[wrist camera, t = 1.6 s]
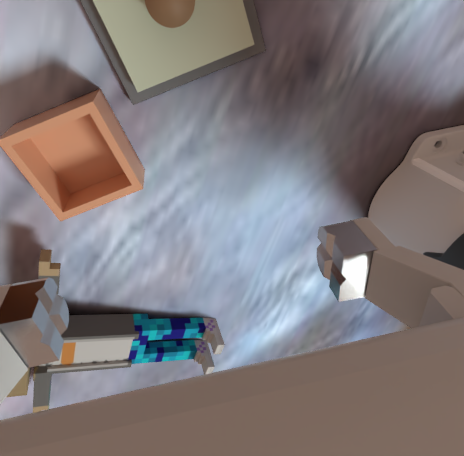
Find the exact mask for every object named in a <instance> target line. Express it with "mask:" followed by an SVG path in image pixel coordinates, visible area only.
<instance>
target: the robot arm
mask: <svg viewBox="0 0 464 456" xmlns="http://www.w3.org/2000/svg"><path fill="white" fill-rule="evenodd" d="M437 141H438V142H437ZM436 142H437V144H436V145H435V143H436ZM318 239H319V240H320V242H321V244H320V245H319V246H318V248H317V261H318V266H319V268H320V271H321V273H322V275H323V276H324V277H325V278H327V279H329V280H330V285H329V287H330V288H331V290H332V292H333V293H334V295H335V297H336V298H337V300H338V302H340V301H345V300H351V299H356V298H362V297H365V298H366V299H367V300H369V301H370V302H372V303H373V304H375V305H376V306H378V307H379V308H381V309H383V310H384V311H386V312H387V313H389V314H390V315H392V316H393V317H395V318H396V319H398V320H400V321H401V322H403V323H404V324H406V325H407V326H409V327H410V328H412V329H407V330H403V331H398V332H394V333H389V334H385V335H380V336H376V337H371V338H367V339H362V340H358V341H354V342H349V343H345V344H340V345H336V346H331V347H327V348H322V349H318V350H313V351H309V352H304V353H300V354H295V355H291V356H286V357H282V358H277V359H273V360H268V361H264V362H259V363H255V364H250V365H246V366H241V367H237V368H232V369H228V370H223V371H219V372H214V373H210V374H205V375H201V376H196V377H192V378H187V379H183V380H178V381H174V382H170V383H165V384H161V385H156V386H152V387H147V388H143V389H138V390H134V391H129V392H125V393H120V394H116V395H111V396H107V397H102V398H98V399H93V400H89V401H84V402H80V403H75V404H71V405H66V406H62V407H57V408H53V409H49V410H44V411H40V412H35V413H31V414H26V415H22V416H17V417H13V418H8V419H4V420H0V456H464V125H461V126H456V127H451V128H446V129H441V130H436V131H431V132H426V133H423V134H422V135H420V136H419V137H418V138H417V139H416V140H415V141H414V143H413V144H412V146H411V148H410V149H409V151H408V153H407V155H406V157H405V159H404V161H403V162H402V163H401V164H400V165H399V166H398V168H397V169H396V170H395V171H394V172H393V173H392V174H391V175H390V176H389V177H388V178H387V179H386V180H385V181H384V183H383V184H382V185H381V187H380V188H379V190H378V191H377V193H376V195H375V196H374V198H373V200H372V203H371V206H370V209H369V213H368V218H366V217H363V218H359V219H354V220H350V221H347V222H342V223H336V224H331V225H326V226H321V227H319V230H318ZM57 288H58V286H57V285H56V283H55V281H54V280H53V279H52V278H43V279H37V280H31V281H25V282H19V283H14V284H8V285H2V286H0V404H1V403H2V402H3V400H4V399H5V398H6V397H7V395H8V394H9V393H10V392H11V390H12V389H13V388H14V387H15V385H16V384H17V383H18V382H19V380H20V379H21V378H22V377H23V376H24V374H25V373H26V372H27V371H28V368H30V367H34V366H38V365H42V364H47V363H51V362H55V361H59V359H60V355H61V351H62V347H63V343H64V340H63V338H62V337H61V335H62V333H63V332H64V331H65V330H66V329H67V327H68V323H69V310H68V307H67V303H66V301H65V299H64V298H63V297H61V296H59V295H58V294H56V292H57Z"/></svg>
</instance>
